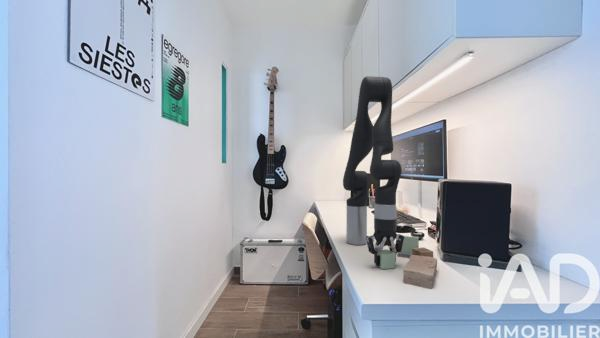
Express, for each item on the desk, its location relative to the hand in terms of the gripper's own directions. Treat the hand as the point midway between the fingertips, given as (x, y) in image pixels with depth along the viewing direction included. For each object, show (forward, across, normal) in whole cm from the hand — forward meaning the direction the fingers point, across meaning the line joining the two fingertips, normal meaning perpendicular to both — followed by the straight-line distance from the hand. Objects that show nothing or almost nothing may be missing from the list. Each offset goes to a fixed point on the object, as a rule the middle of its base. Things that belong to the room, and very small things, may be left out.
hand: (384, 264), depth 94 cm
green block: (0, 0, 0) cm, 0 cm away
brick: (+1, -7, +10) cm, 12 cm away
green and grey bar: (+1, -15, -8) cm, 17 cm away
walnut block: (+1, -15, 0) cm, 15 cm away
